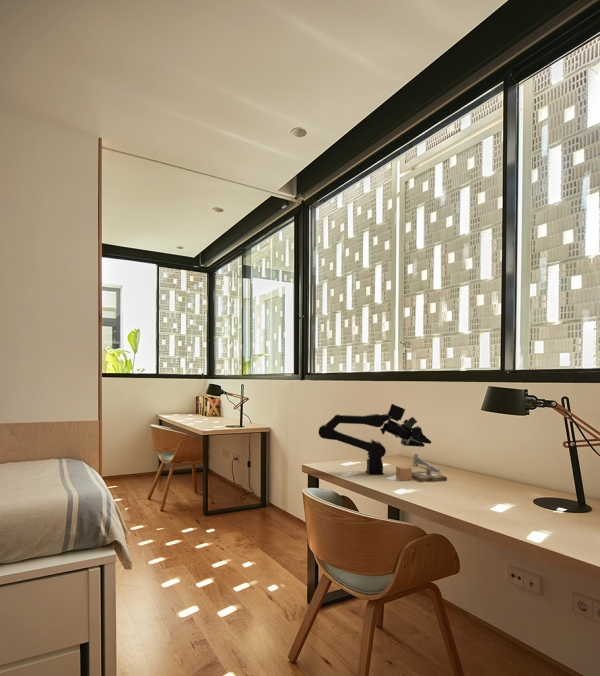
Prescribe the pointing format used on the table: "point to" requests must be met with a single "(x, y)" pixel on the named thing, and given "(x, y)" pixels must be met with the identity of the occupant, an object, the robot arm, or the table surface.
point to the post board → (427, 475)
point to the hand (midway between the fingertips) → (427, 444)
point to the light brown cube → (403, 473)
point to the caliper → (423, 462)
